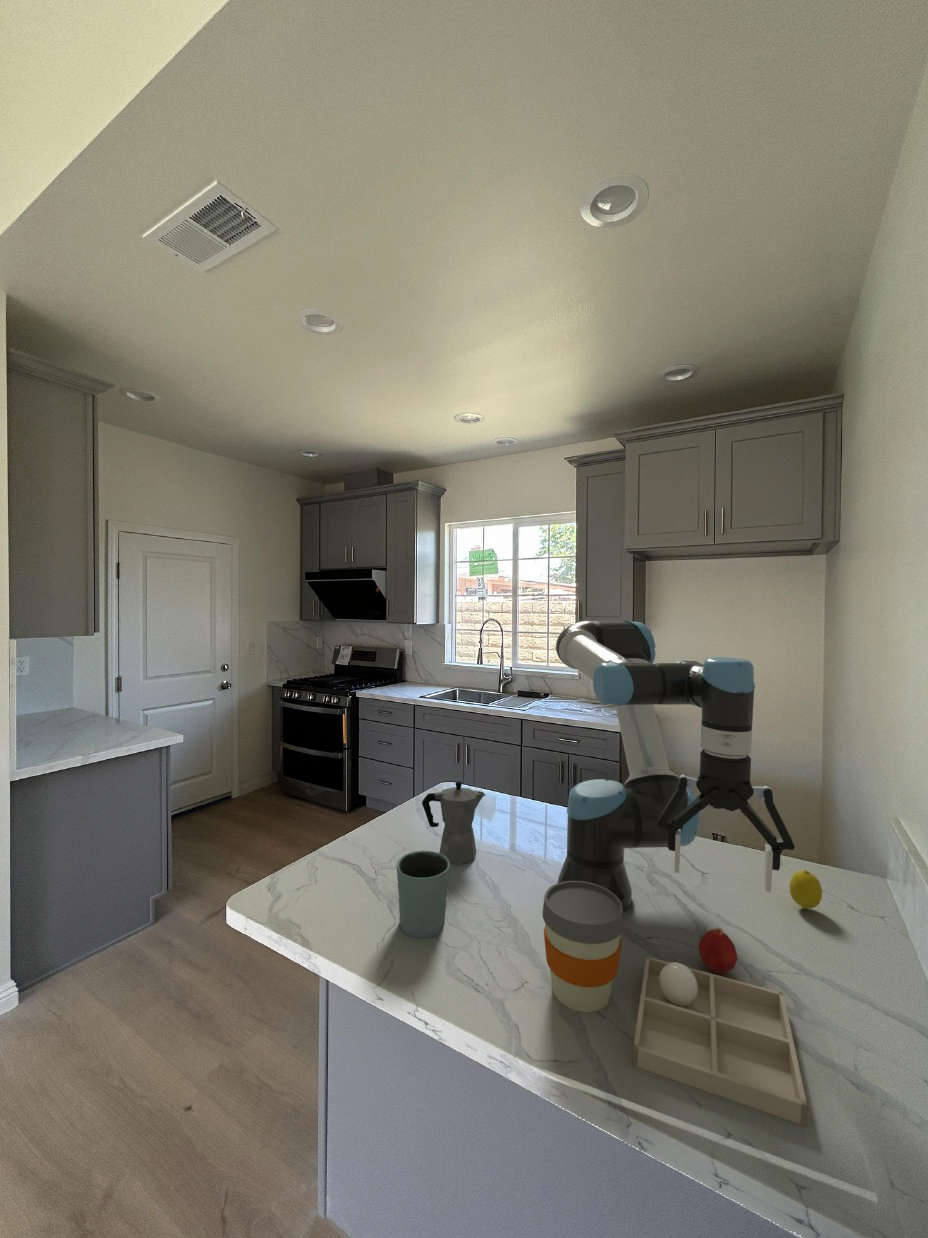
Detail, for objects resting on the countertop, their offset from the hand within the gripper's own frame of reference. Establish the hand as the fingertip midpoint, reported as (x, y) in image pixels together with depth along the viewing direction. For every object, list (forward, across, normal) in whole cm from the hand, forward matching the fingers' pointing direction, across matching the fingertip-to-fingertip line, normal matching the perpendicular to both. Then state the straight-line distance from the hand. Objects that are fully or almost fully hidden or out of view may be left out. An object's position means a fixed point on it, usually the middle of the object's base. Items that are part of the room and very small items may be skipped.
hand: (720, 878), depth 89 cm
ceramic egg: (+16, -6, -10) cm, 20 cm away
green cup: (+17, -51, -9) cm, 54 cm away
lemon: (+16, +17, +28) cm, 37 cm away
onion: (+17, 0, 0) cm, 17 cm away
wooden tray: (+16, -1, -15) cm, 22 cm away
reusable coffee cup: (+17, -20, -14) cm, 30 cm away
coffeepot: (+16, -57, +18) cm, 62 cm away
